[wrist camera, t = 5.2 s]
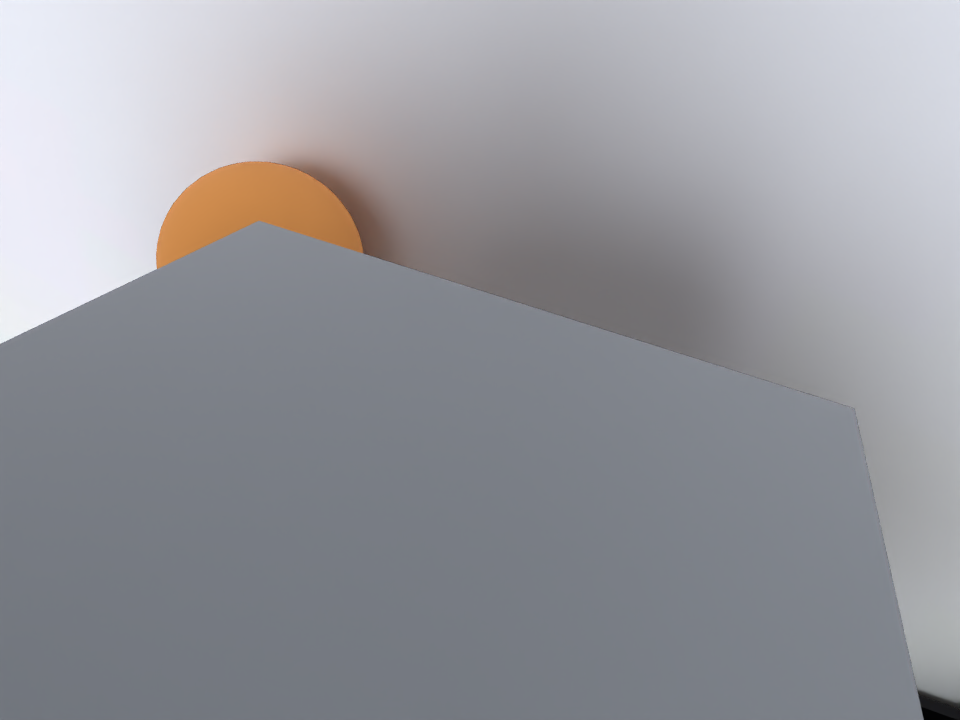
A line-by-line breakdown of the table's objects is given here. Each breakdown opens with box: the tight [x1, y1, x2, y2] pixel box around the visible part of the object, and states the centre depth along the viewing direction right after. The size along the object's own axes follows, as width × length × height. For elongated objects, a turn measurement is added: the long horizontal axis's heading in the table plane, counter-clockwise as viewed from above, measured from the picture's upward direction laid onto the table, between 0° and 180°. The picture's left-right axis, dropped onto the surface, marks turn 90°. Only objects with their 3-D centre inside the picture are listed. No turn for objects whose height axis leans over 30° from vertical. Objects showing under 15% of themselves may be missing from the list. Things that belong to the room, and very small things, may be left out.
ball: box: [156, 162, 363, 269], centre depth 19 cm, size 5×5×5 cm
